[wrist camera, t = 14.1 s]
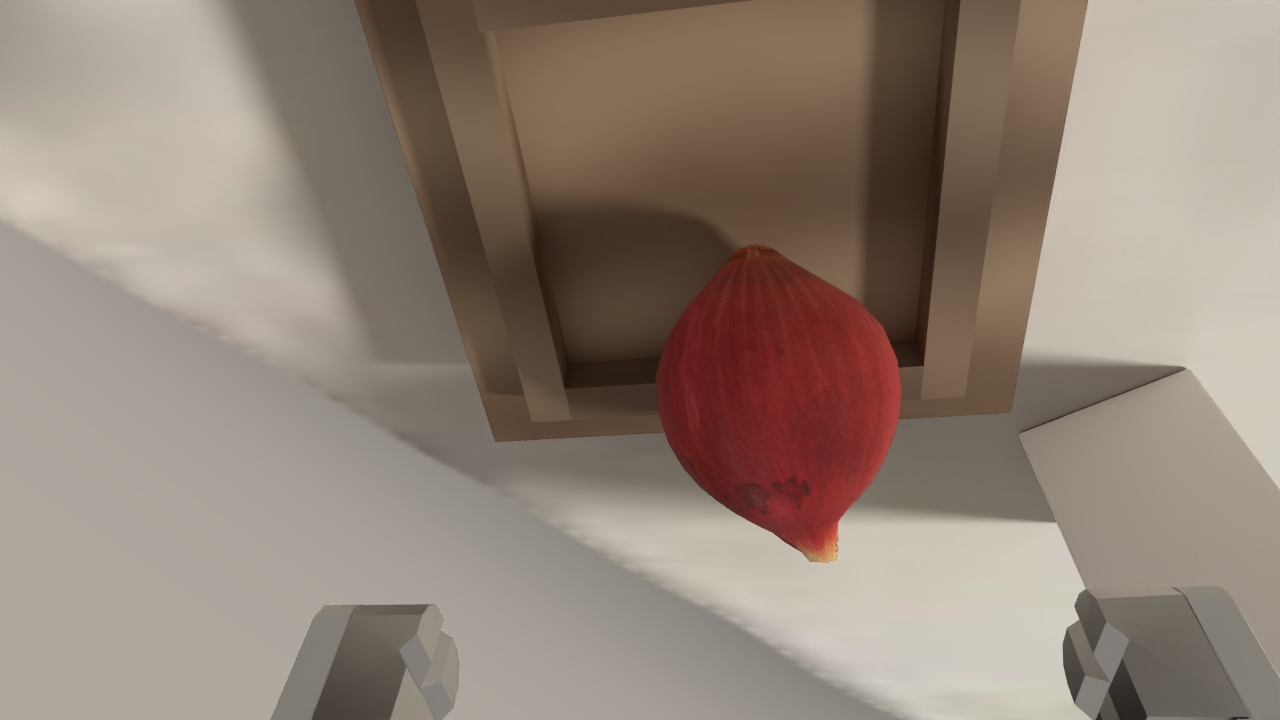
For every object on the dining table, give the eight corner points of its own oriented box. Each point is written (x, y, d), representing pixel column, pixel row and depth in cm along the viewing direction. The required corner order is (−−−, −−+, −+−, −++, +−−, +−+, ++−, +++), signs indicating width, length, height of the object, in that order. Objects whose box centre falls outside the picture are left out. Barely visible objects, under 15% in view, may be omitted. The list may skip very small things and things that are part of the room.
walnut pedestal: (375, -143, 21) (295, -106, 16) (1059, -244, 19) (1160, -230, 15) (516, 365, 30) (487, 468, 26) (975, 334, 28) (1022, 440, 24)
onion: (618, 291, 23) (678, 577, 23) (648, 233, 18) (730, 613, 17) (813, 256, 24) (878, 530, 23) (902, 191, 19) (990, 549, 18)
